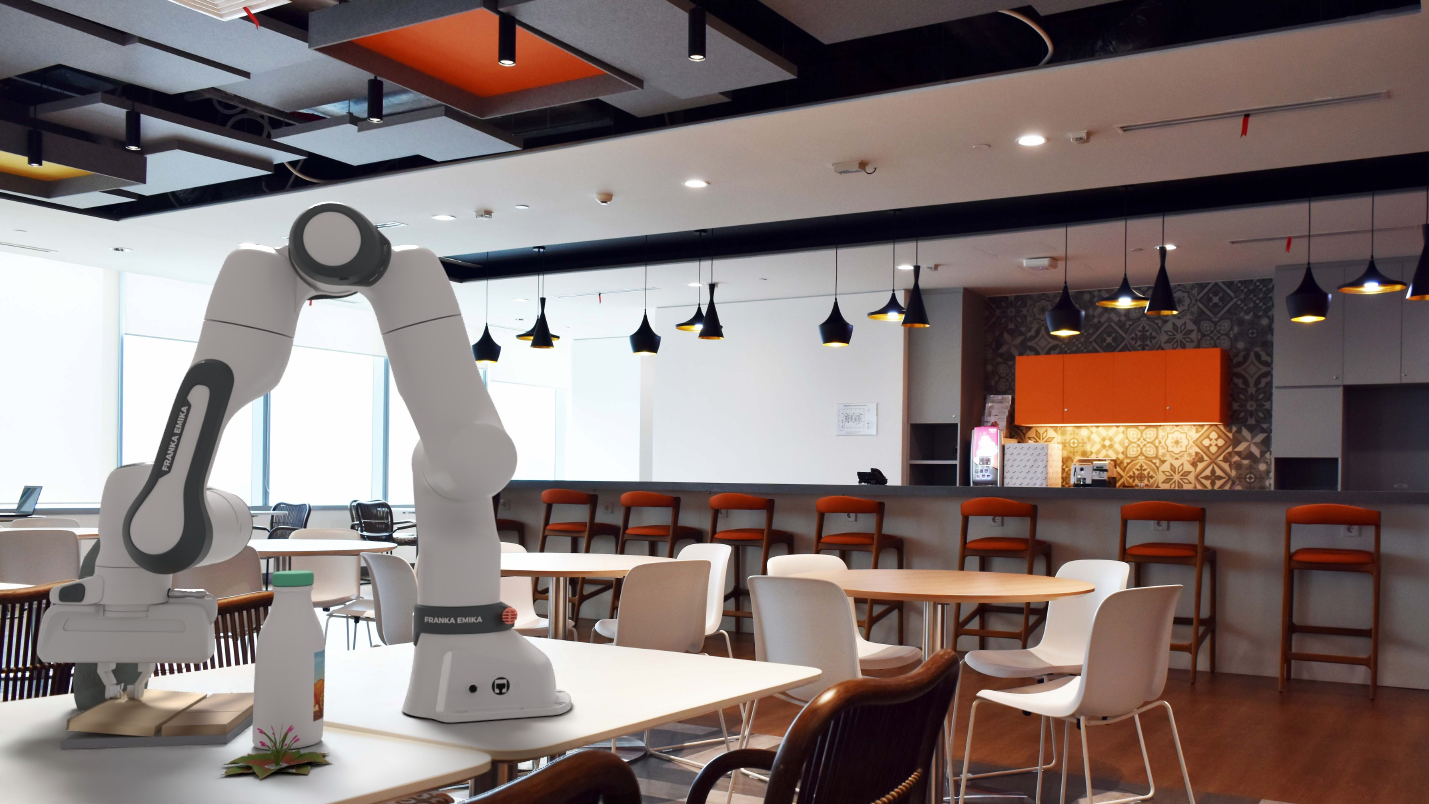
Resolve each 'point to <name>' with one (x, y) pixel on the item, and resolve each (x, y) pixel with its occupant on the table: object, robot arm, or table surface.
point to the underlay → (146, 739)
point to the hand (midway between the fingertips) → (124, 698)
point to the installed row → (212, 715)
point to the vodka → (85, 674)
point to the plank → (135, 713)
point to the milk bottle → (290, 666)
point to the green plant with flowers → (276, 758)
